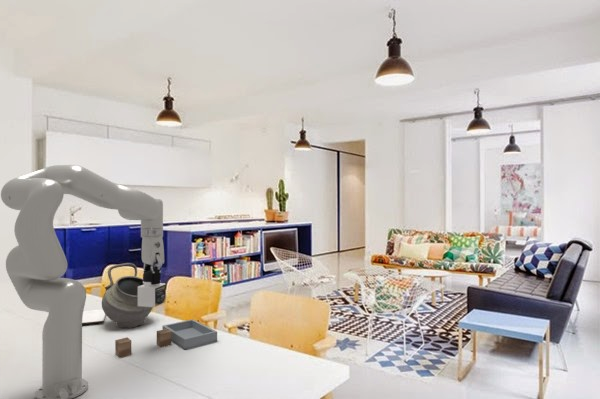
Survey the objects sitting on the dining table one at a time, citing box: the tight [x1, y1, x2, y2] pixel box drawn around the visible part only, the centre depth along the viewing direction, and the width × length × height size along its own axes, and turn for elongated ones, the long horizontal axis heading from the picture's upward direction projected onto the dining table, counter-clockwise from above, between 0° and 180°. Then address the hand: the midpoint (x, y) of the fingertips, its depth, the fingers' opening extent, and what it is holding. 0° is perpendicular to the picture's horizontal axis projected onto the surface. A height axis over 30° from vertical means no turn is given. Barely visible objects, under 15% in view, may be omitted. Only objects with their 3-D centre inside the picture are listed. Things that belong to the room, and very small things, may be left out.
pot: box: [101, 262, 154, 329], centre depth 172 cm, size 21×21×25 cm
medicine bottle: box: [138, 271, 167, 308], centre depth 145 cm, size 7×7×12 cm
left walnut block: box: [114, 337, 132, 358], centre depth 139 cm, size 4×4×5 cm
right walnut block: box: [156, 329, 172, 348], centre depth 148 cm, size 4×4×5 cm
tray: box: [161, 318, 218, 351], centre depth 155 cm, size 20×13×4 cm, turn 41°
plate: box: [82, 308, 106, 326], centre depth 176 cm, size 19×19×2 cm
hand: (151, 282), depth 145 cm, fingers closed on medicine bottle, 6 cm apart
